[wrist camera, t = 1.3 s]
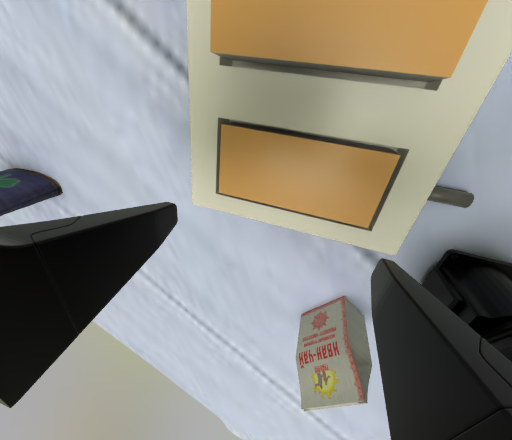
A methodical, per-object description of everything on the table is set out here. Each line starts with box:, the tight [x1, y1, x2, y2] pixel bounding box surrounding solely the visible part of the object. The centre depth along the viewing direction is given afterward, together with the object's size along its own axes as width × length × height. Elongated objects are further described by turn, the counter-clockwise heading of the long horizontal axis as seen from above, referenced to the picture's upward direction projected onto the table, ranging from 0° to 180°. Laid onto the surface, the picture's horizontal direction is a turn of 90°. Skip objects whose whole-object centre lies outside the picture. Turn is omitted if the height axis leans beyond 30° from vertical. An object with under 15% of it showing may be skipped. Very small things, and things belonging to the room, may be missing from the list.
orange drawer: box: [210, 0, 488, 82], centre depth 12 cm, size 13×6×3 cm, turn 83°
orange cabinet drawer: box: [219, 122, 401, 228], centre depth 18 cm, size 13×6×3 cm, turn 83°
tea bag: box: [296, 296, 372, 411], centre depth 24 cm, size 4×7×10 cm, turn 138°
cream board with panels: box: [186, 0, 512, 256], centre depth 14 cm, size 23×30×3 cm
